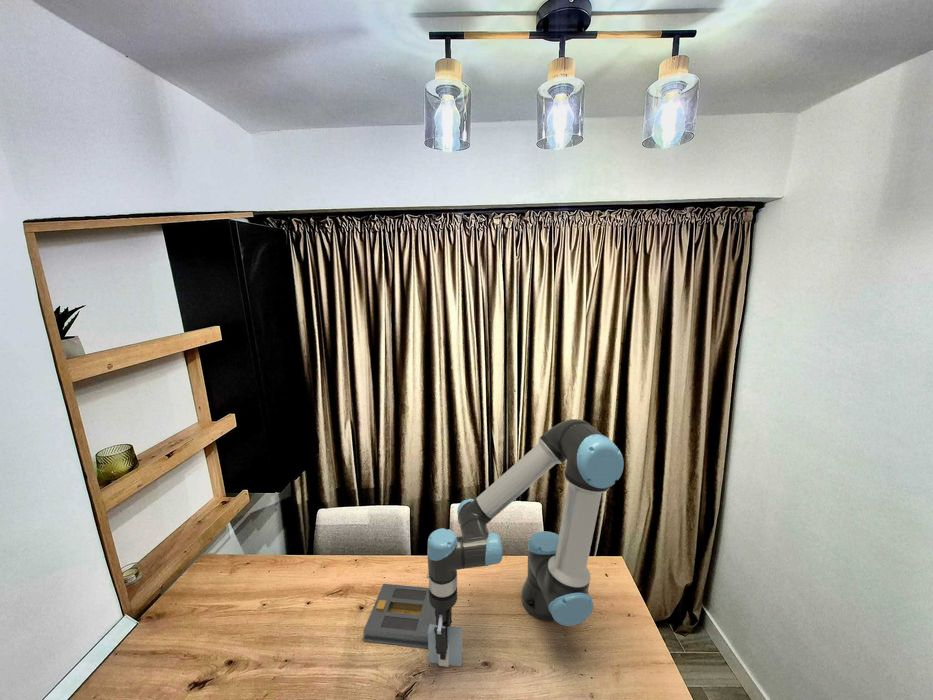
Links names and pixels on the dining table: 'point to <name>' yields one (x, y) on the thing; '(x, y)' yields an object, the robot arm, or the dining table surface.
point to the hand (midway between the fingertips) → (445, 658)
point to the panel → (453, 643)
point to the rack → (401, 617)
